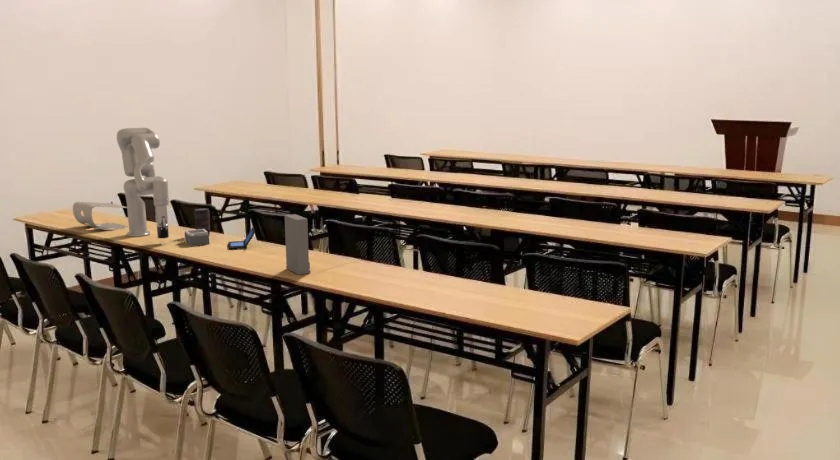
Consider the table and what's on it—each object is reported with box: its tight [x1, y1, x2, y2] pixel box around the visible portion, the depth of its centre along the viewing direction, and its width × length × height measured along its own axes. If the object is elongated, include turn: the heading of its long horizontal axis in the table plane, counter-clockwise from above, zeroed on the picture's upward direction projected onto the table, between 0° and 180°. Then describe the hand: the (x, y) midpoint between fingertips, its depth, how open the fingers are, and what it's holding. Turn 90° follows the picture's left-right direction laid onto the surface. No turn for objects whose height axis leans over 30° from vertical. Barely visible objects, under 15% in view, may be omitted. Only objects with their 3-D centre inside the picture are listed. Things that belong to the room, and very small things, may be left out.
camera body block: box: [184, 229, 210, 247], centre depth 386 cm, size 14×10×6 cm
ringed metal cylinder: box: [156, 223, 170, 239], centre depth 382 cm, size 6×6×7 cm
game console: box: [227, 226, 256, 251], centre depth 376 cm, size 16×14×9 cm
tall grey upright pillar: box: [284, 213, 312, 276], centre depth 323 cm, size 14×6×25 cm, turn 33°
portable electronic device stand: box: [72, 201, 129, 231], centre depth 427 cm, size 26×24×16 cm
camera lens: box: [194, 208, 211, 236], centre depth 403 cm, size 8×8×15 cm
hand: (163, 235), depth 383 cm, fingers closed on ringed metal cylinder, 5 cm apart
